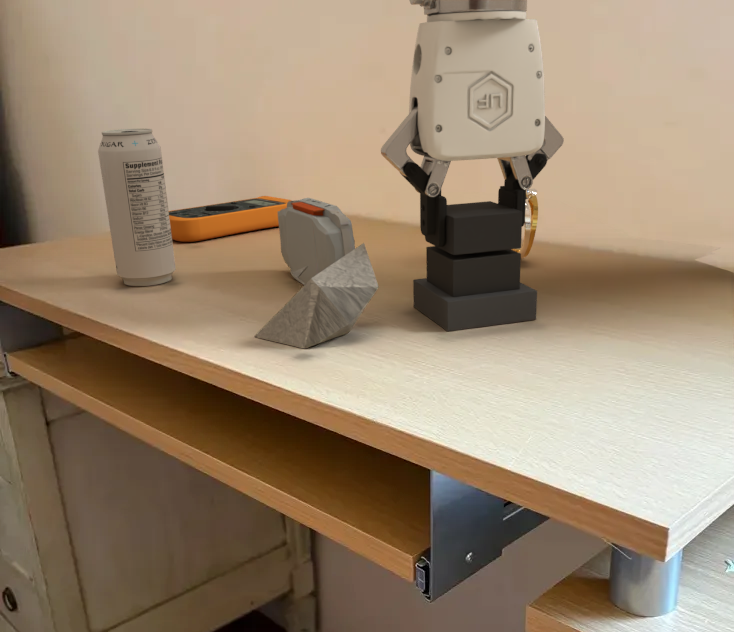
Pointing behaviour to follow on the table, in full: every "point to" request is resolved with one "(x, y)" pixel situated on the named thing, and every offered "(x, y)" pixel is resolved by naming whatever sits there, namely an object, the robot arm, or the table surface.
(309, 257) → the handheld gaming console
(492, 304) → the base pad
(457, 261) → the black square block
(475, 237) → the graphite pad
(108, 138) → the energy drink can
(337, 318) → the grey angular faceted piece
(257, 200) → the multimeter
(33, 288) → the table surface
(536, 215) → the ring
